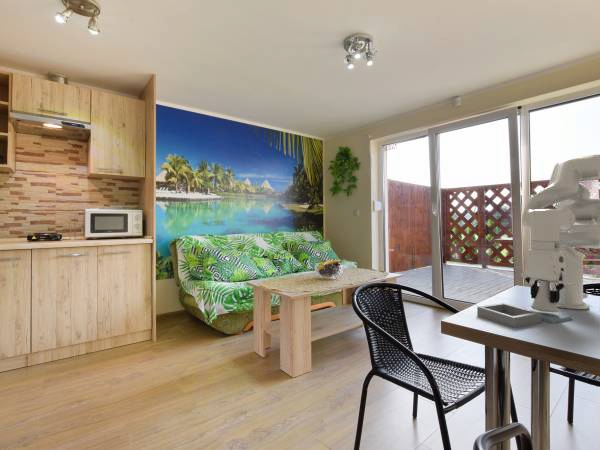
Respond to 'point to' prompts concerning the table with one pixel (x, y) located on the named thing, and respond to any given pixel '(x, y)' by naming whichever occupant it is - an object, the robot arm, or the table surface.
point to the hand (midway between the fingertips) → (544, 299)
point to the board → (552, 316)
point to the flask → (544, 298)
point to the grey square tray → (519, 318)
